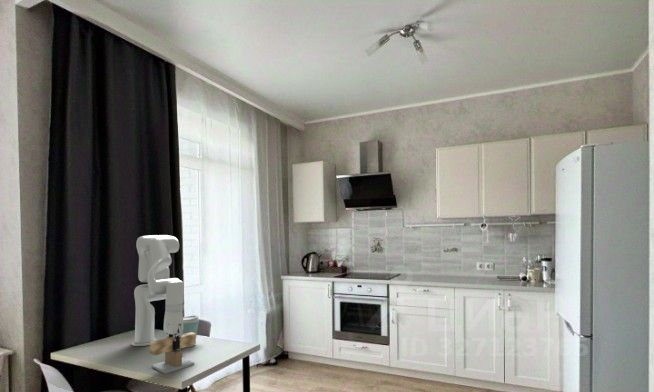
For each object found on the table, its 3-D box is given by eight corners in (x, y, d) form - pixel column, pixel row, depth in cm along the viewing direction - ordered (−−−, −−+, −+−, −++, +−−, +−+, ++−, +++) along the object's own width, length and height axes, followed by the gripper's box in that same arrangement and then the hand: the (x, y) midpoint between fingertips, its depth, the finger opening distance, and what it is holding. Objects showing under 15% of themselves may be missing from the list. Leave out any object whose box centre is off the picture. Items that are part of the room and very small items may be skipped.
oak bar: (153, 355, 167) (154, 343, 167) (149, 353, 169) (149, 342, 170) (195, 344, 182) (195, 333, 182) (191, 342, 184) (191, 332, 185)
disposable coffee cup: (177, 349, 197) (178, 320, 198) (177, 343, 207) (178, 315, 208) (199, 347, 201) (199, 318, 202) (198, 341, 211) (198, 313, 212)
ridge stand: (151, 367, 174) (152, 351, 174) (180, 358, 184) (181, 343, 185) (164, 373, 166) (165, 357, 166) (194, 364, 176) (194, 349, 177)
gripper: (157, 306, 179) (156, 346, 178) (175, 311, 169) (174, 354, 167) (173, 303, 185) (172, 342, 184) (191, 308, 174) (190, 349, 173)
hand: (173, 347), depth 175 cm, fingers closed on oak bar, 4 cm apart
